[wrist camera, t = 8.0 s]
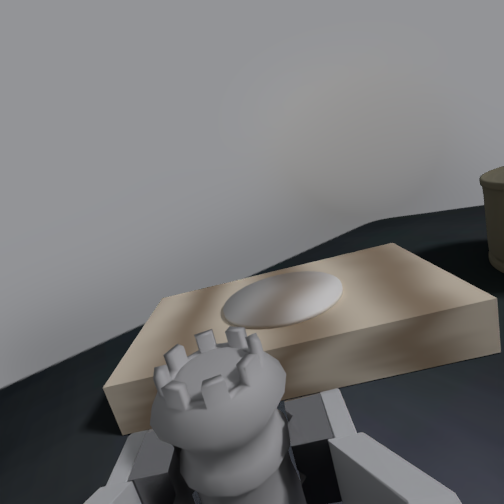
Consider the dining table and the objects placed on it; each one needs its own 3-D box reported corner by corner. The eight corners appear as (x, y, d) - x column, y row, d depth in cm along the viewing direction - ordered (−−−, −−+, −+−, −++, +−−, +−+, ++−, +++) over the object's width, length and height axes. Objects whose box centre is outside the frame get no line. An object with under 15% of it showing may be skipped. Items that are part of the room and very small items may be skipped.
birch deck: (122, 435, 18) (100, 382, 17) (172, 329, 29) (161, 295, 29) (500, 352, 17) (496, 292, 16) (397, 276, 28) (391, 239, 28)
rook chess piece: (215, 530, 12) (142, 331, 10) (338, 502, 12) (288, 295, 10) (198, 740, 7) (63, 458, 6) (395, 699, 7) (326, 396, 5)
